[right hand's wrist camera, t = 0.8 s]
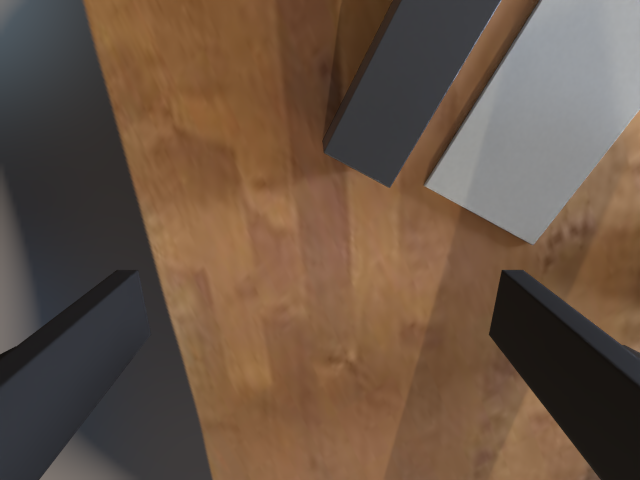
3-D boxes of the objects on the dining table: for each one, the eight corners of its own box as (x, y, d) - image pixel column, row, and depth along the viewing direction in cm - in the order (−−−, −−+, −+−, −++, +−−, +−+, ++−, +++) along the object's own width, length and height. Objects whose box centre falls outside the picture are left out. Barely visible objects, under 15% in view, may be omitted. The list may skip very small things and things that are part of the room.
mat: (734, -313, 22) (744, -322, 21) (863, -184, 24) (874, -190, 23) (423, 185, 33) (424, 186, 32) (530, 243, 35) (533, 245, 34)
